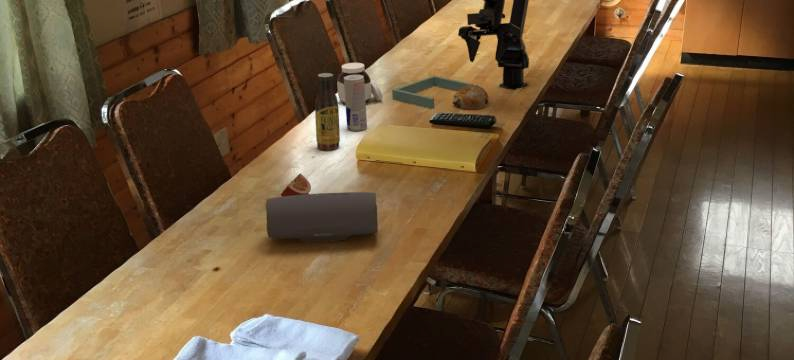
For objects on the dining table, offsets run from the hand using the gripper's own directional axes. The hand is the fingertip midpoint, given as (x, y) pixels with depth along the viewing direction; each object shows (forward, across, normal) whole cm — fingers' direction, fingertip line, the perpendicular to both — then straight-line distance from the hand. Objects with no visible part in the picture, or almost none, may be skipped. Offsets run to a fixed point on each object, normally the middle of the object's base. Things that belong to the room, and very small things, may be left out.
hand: (483, 61), depth 267 cm
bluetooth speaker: (+60, +21, -66) cm, 92 cm away
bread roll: (+11, -9, +8) cm, 17 cm away
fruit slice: (+52, +1, -58) cm, 78 cm away
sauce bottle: (+34, -18, -35) cm, 52 cm away
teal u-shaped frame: (+8, -24, +8) cm, 26 cm away
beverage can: (+26, -22, -23) cm, 41 cm away
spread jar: (+14, -38, -8) cm, 42 cm away
